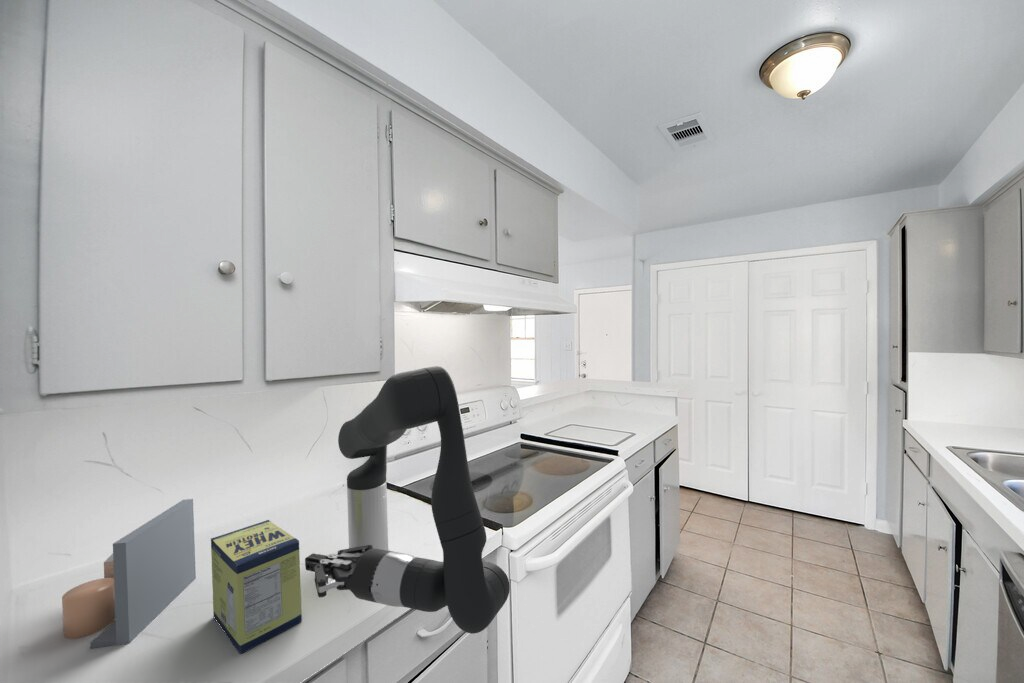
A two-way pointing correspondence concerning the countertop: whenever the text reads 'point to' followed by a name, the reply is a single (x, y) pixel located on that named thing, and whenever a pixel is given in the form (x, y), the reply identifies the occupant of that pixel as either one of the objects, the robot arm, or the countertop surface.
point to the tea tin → (109, 568)
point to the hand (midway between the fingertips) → (308, 561)
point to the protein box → (256, 583)
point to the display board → (150, 572)
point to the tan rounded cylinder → (88, 608)
